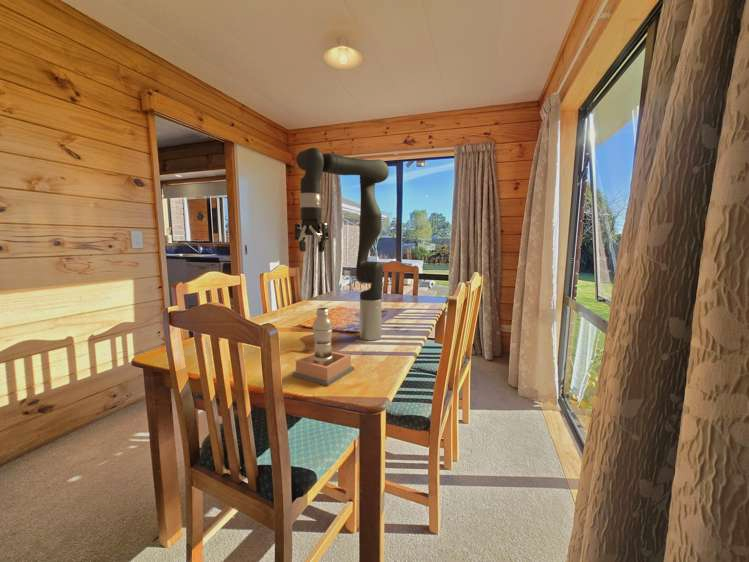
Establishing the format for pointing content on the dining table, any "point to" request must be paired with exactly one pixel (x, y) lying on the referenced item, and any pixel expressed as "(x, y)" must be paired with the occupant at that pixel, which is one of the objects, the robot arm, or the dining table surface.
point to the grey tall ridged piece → (322, 338)
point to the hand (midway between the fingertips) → (311, 251)
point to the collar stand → (323, 369)
